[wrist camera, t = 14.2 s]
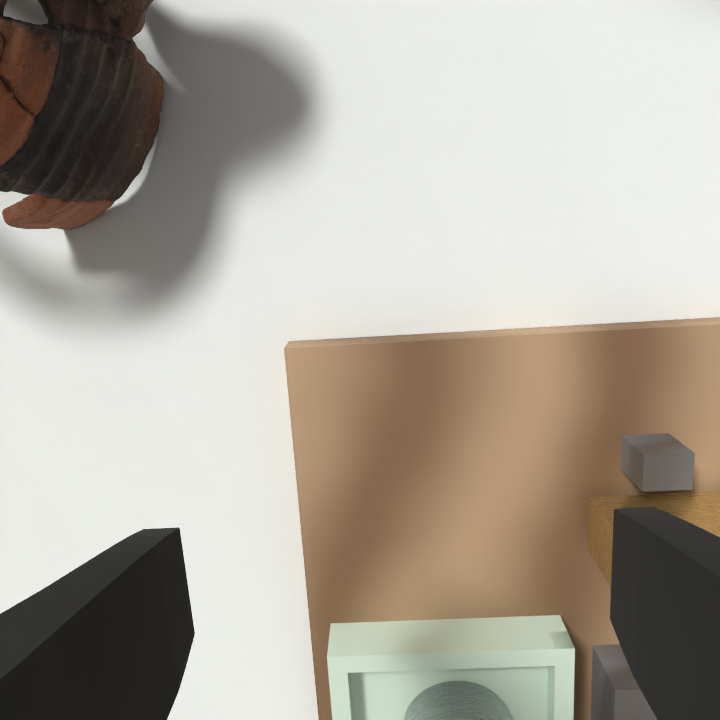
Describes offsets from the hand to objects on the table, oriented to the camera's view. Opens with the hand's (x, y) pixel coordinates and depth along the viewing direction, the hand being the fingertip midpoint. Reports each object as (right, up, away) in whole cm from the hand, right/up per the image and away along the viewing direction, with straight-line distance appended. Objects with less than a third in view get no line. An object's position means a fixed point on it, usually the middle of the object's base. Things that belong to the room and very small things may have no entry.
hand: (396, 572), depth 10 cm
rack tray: (+2, -8, +11) cm, 14 cm away
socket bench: (+7, -4, +11) cm, 13 cm away
